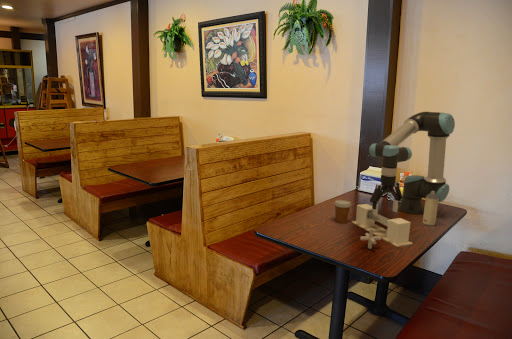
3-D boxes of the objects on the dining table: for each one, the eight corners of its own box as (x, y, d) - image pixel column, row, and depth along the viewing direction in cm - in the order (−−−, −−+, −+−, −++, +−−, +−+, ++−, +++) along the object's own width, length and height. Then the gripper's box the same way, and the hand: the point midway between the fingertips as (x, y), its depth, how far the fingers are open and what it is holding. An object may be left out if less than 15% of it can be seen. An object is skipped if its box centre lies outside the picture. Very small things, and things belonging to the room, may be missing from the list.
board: (351, 222, 220) (351, 221, 220) (365, 220, 224) (365, 219, 224) (397, 247, 187) (397, 245, 187) (412, 244, 191) (412, 243, 190)
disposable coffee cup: (350, 220, 223) (352, 201, 220) (347, 225, 214) (349, 205, 212) (335, 217, 227) (336, 198, 224) (331, 222, 218) (332, 202, 216)
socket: (386, 239, 195) (388, 219, 193) (398, 237, 198) (400, 217, 196) (396, 245, 189) (398, 224, 186) (408, 243, 192) (410, 222, 190)
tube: (366, 217, 212) (366, 210, 211) (372, 217, 213) (372, 210, 212) (397, 233, 190) (398, 225, 189) (403, 232, 192) (404, 224, 191)
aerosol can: (428, 221, 225) (432, 189, 220) (437, 225, 219) (442, 192, 214) (419, 222, 222) (424, 190, 217) (429, 226, 216) (434, 193, 211)
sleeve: (355, 222, 219) (357, 205, 216) (365, 221, 221) (366, 203, 219) (364, 227, 211) (366, 209, 209) (374, 226, 214) (376, 207, 212)
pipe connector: (356, 243, 189) (358, 225, 187) (375, 243, 190) (377, 225, 188) (363, 252, 180) (365, 232, 177) (383, 252, 180) (385, 232, 178)
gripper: (401, 171, 204) (397, 208, 209) (364, 175, 195) (361, 213, 200) (412, 174, 198) (407, 212, 203) (374, 178, 188) (371, 218, 193)
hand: (384, 213), depth 201 cm, fingers open, 13 cm apart
